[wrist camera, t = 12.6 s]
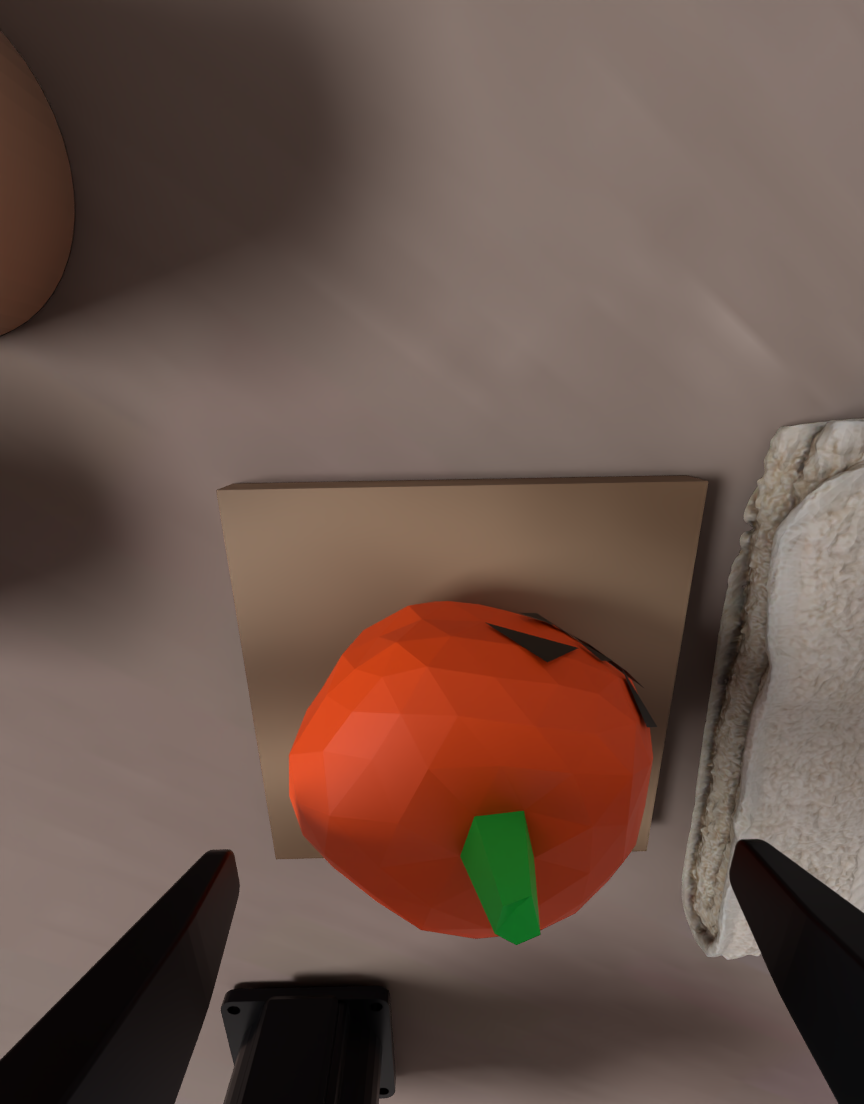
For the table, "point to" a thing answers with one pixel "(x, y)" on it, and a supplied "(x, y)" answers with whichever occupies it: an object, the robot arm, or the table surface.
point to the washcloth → (787, 686)
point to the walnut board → (452, 583)
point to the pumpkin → (473, 769)
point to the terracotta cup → (30, 194)
